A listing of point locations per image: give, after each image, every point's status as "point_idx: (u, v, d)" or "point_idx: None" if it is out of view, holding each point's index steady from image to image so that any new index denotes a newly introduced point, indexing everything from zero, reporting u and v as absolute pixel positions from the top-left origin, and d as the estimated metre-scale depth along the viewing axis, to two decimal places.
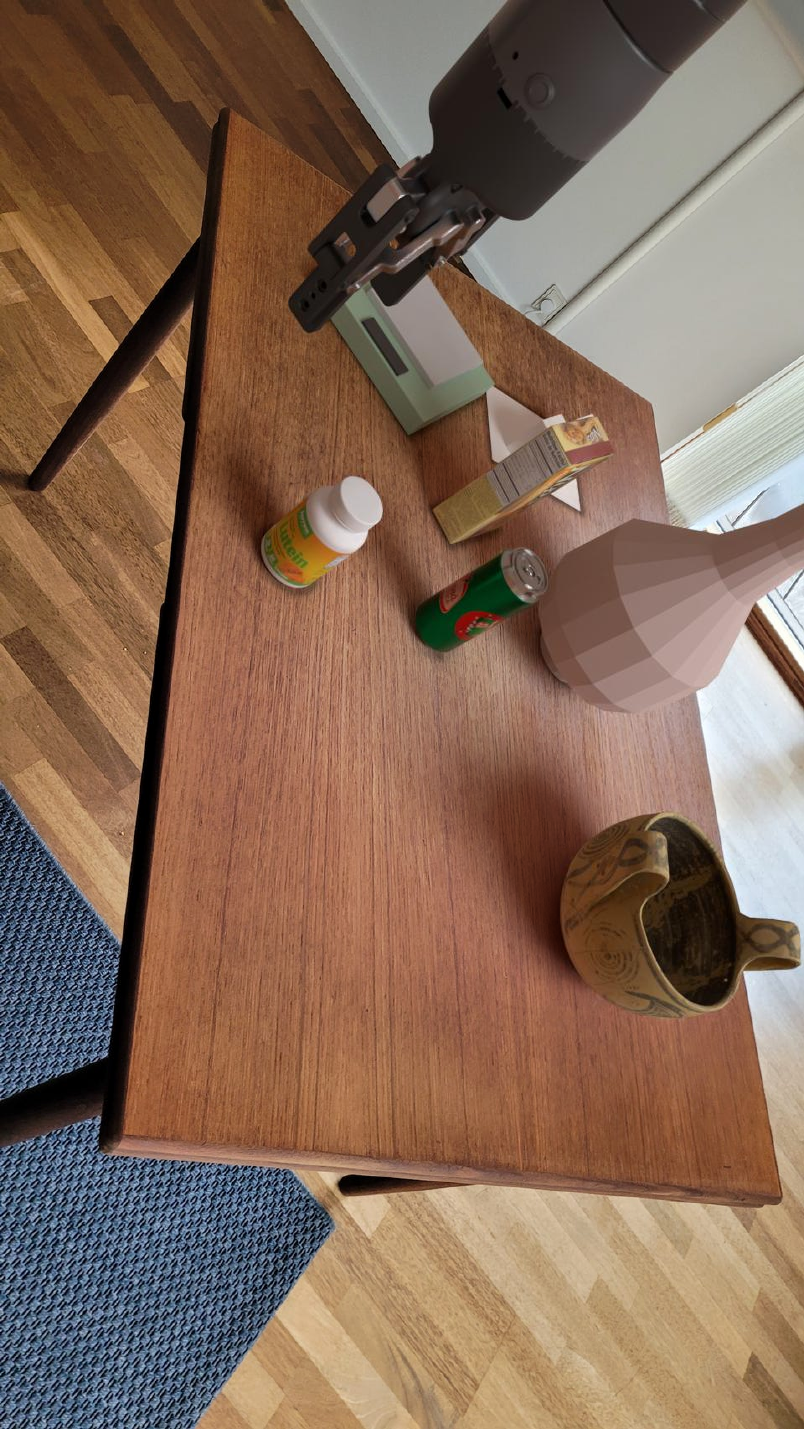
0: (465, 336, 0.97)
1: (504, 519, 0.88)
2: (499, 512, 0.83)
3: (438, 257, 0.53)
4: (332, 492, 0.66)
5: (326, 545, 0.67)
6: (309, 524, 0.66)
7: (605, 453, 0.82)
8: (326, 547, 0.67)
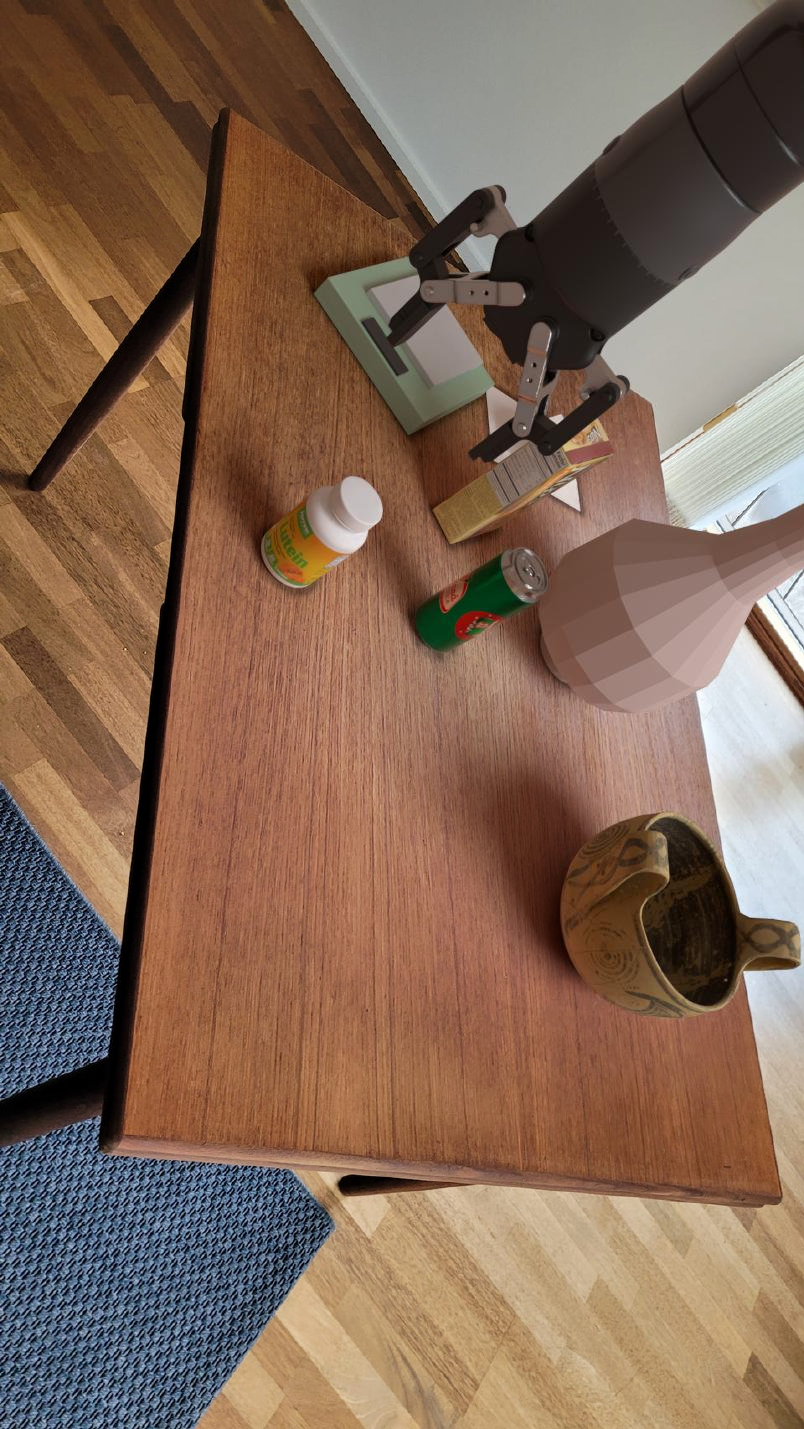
0: (465, 336, 0.97)
1: (504, 519, 0.88)
2: (499, 512, 0.83)
3: (517, 404, 0.54)
4: (332, 492, 0.66)
5: (326, 545, 0.67)
6: (309, 524, 0.66)
7: (605, 453, 0.82)
8: (326, 547, 0.67)
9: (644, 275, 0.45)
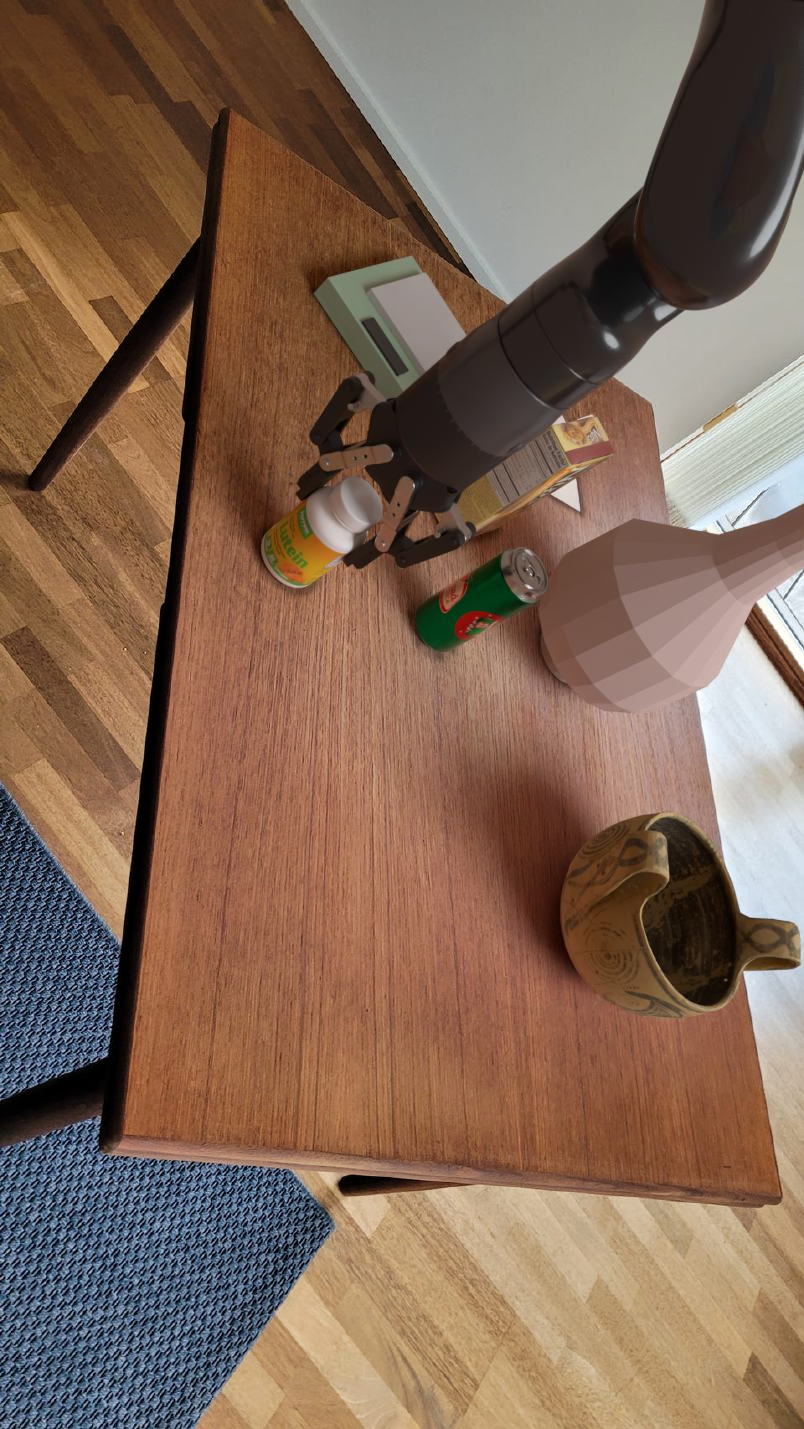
0: (465, 336, 0.97)
1: (504, 519, 0.88)
2: (499, 512, 0.83)
3: None
4: (332, 492, 0.66)
5: (326, 545, 0.67)
6: (309, 524, 0.66)
7: (605, 453, 0.82)
8: (326, 548, 0.67)
9: (478, 451, 0.56)
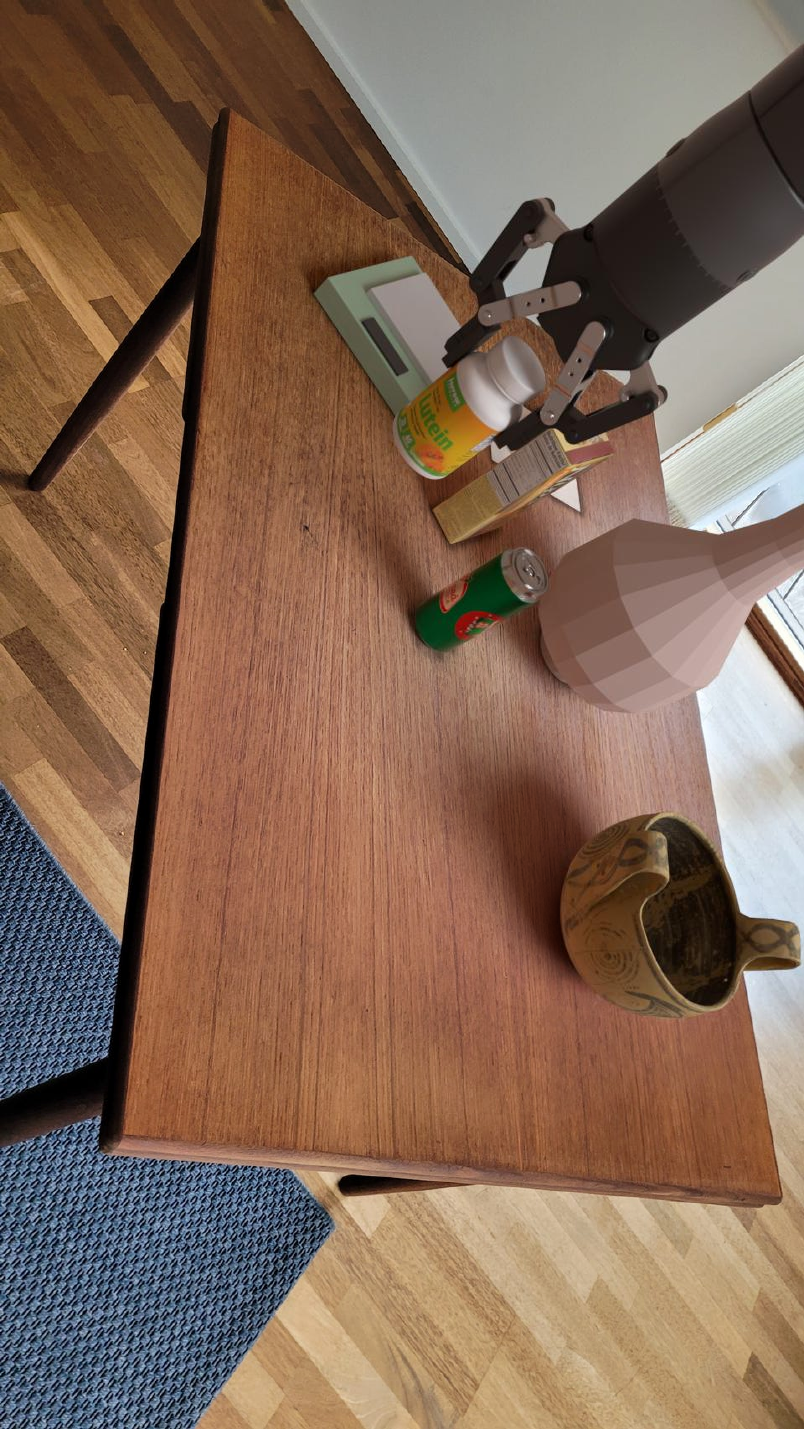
0: None
1: (504, 519, 0.88)
2: (499, 512, 0.83)
3: (551, 392, 0.55)
4: (491, 353, 0.55)
5: (480, 418, 0.56)
6: (460, 392, 0.56)
7: (605, 453, 0.82)
8: (480, 422, 0.57)
9: (703, 275, 0.46)
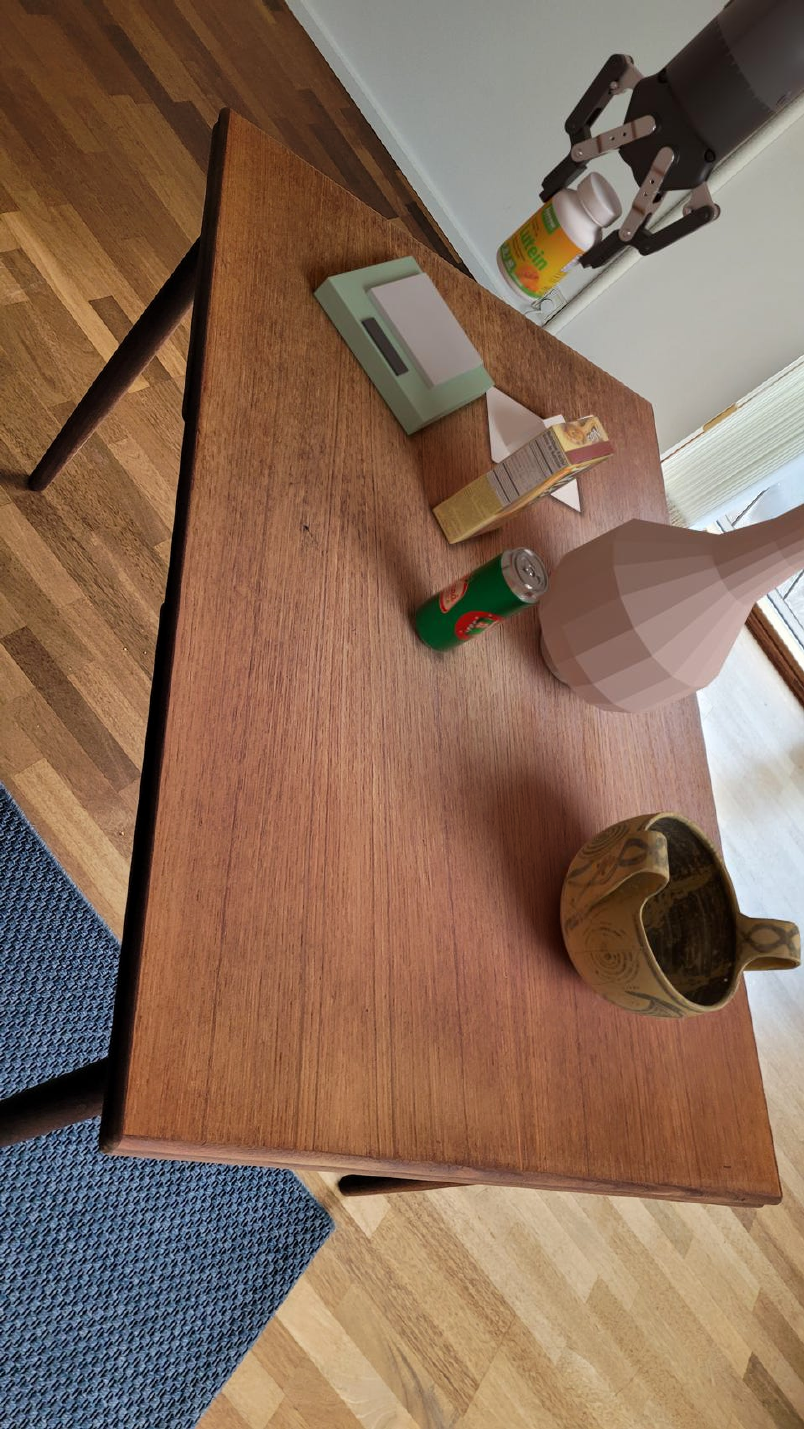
0: (465, 336, 0.97)
1: (504, 519, 0.88)
2: (499, 512, 0.83)
3: None
4: (581, 185, 0.71)
5: (570, 238, 0.72)
6: (556, 217, 0.71)
7: (605, 453, 0.82)
8: (570, 242, 0.72)
9: (752, 98, 0.61)
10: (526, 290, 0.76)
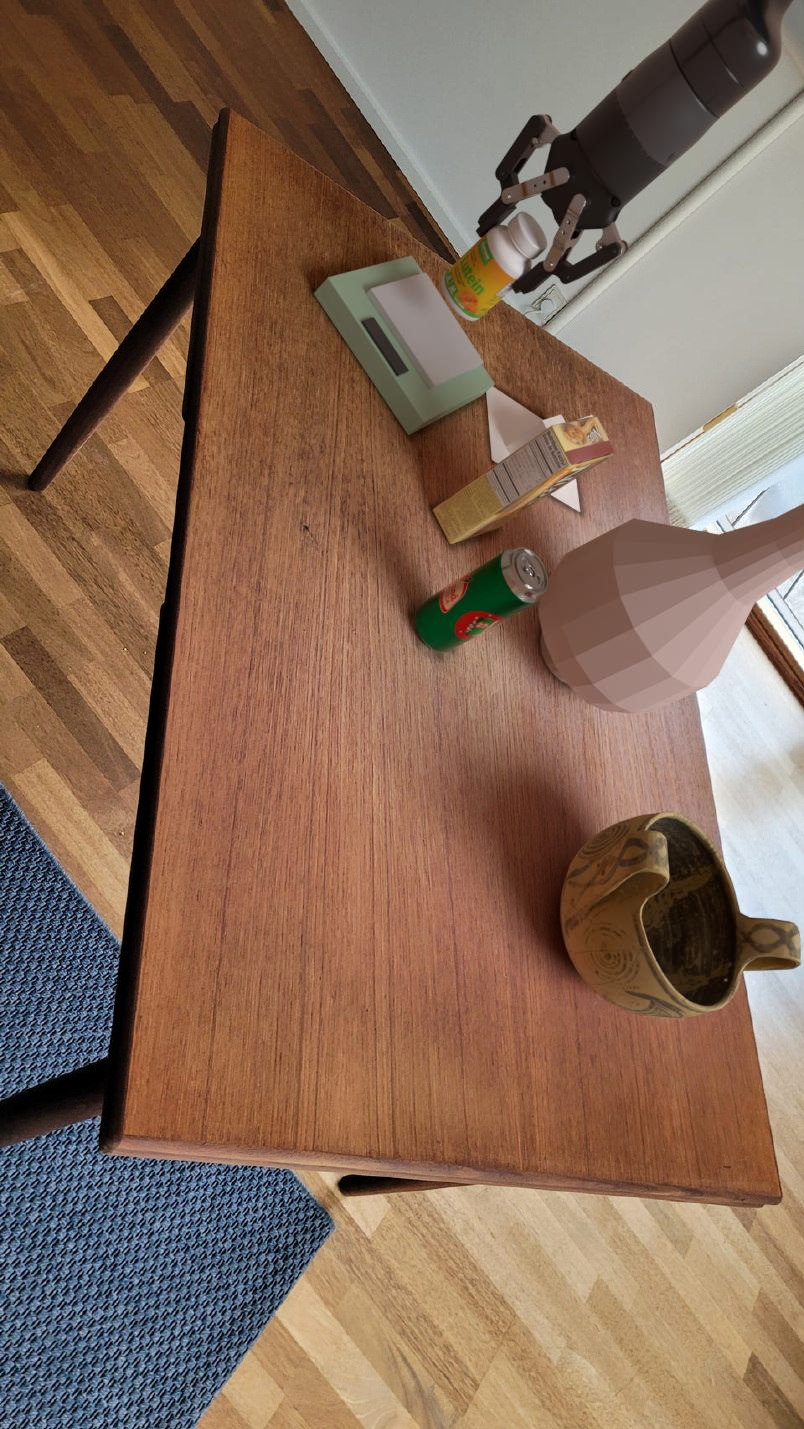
0: (465, 336, 0.97)
1: (504, 519, 0.88)
2: (499, 512, 0.83)
3: (551, 247, 0.82)
4: (510, 223, 0.82)
5: (503, 268, 0.83)
6: (490, 250, 0.83)
7: (605, 453, 0.82)
8: (503, 271, 0.84)
9: (645, 156, 0.73)
10: (467, 311, 0.88)
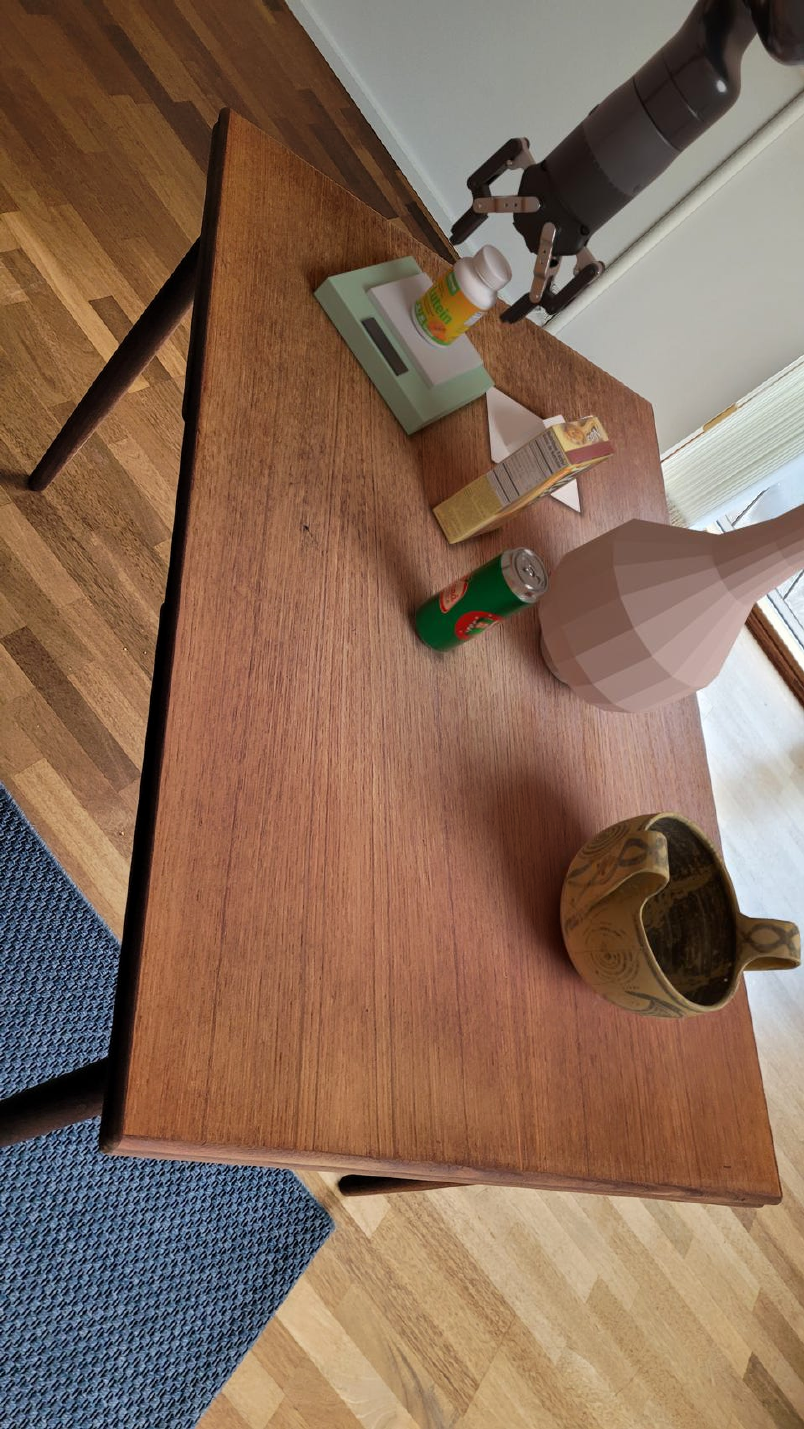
0: (465, 336, 0.97)
1: (504, 519, 0.88)
2: (499, 512, 0.83)
3: (533, 280, 0.84)
4: (476, 255, 0.85)
5: (469, 299, 0.86)
6: (456, 282, 0.86)
7: (605, 453, 0.82)
8: (469, 302, 0.87)
9: (612, 187, 0.75)
10: (436, 339, 0.91)
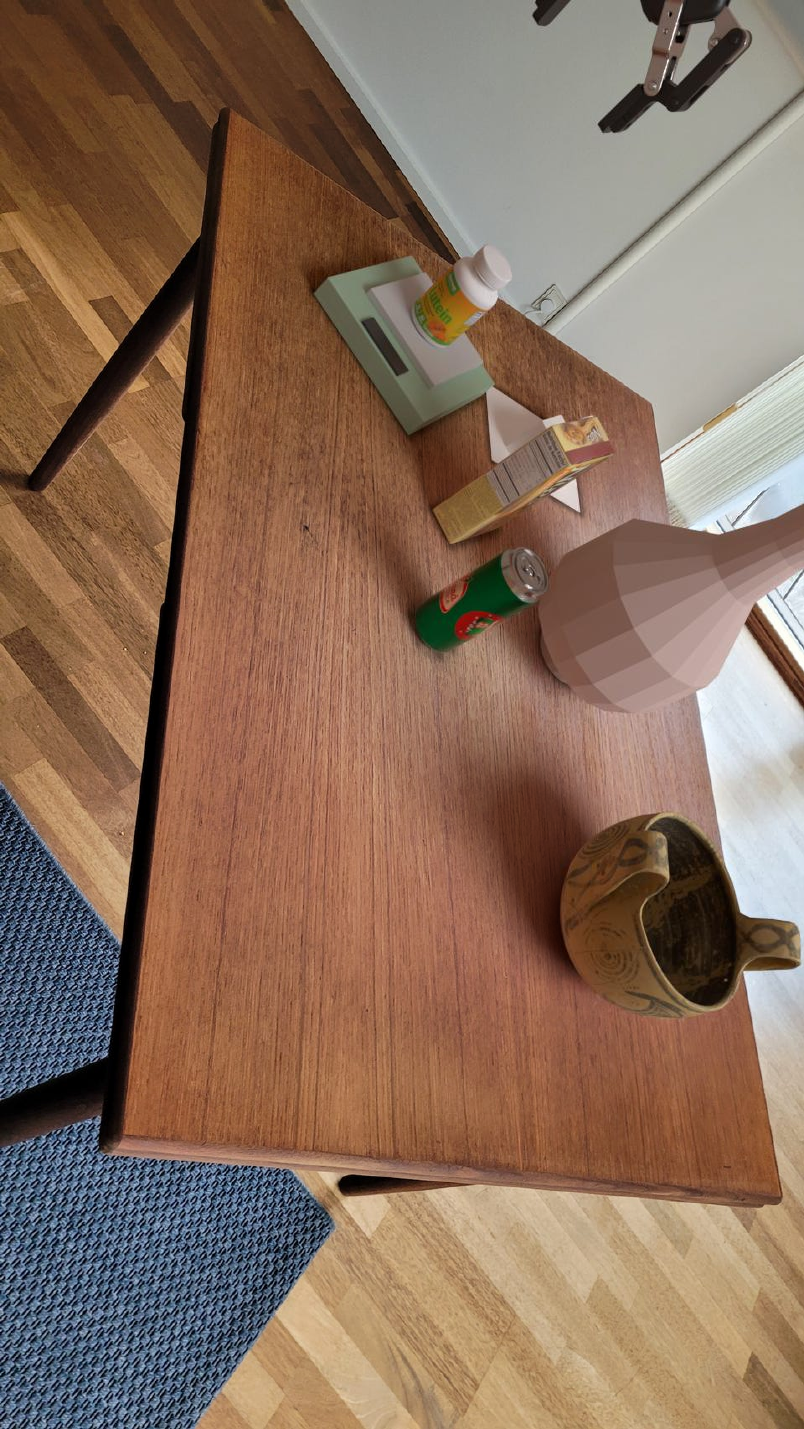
0: (465, 336, 0.97)
1: (504, 519, 0.88)
2: (499, 512, 0.83)
3: (650, 62, 0.62)
4: (476, 255, 0.85)
5: (469, 299, 0.86)
6: (456, 282, 0.86)
7: (605, 453, 0.82)
8: (469, 302, 0.87)
9: None
10: (436, 339, 0.91)
